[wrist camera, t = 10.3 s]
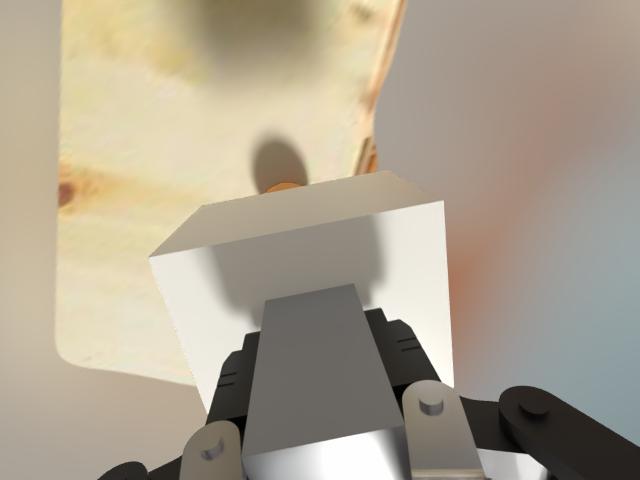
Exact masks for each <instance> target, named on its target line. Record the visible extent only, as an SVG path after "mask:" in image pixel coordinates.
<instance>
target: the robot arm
mask: <svg viewBox="0 0 640 480" xmlns="http://www.w3.org/2000/svg"><path fill="white" fill-rule="evenodd" d="M364 313H365V316H366V319H367V321H368V324H369V327H370V330H371V332H372V335H373V338H374V341H375V343H376V346H377V349H378V352H379V354H380V357H381V360H382V363H383V365H384V368H385V371H386V374H387V376H388V379H389V382H390V385H391V387H392V390H393V393H394V396H395V398H396V401H397V404H398V407H399V409H400V412H401V415H402V417H403V420H404V423H405V427H406V435H407V443H408V451H409V459H410V467H411V475H412V480H640V447H638V446H637V445H635V444H633V443H632V442H630V441H628V440H627V439H625V438H624V437H622V436H620V435H619V434H617V433H615V432H613V431H612V430H610V429H609V428H607V427H605V426H604V425H602V424H600V423H599V422H597V421H595V420H594V419H592V418H591V417H589V416H587V415H585V414H584V413H582V412H581V411H579V410H577V409H576V408H574V407H572V406H571V405H569V404H567V403H566V402H564V401H562V400H561V399H559V398H557V397H556V396H554V395H552V394H551V393H549V392H547V391H544V390H542V389H539V388H536V387H531V386H515V387H511V388H508V389H507V390H505V391H504V392H503V393H502V394H501V395H500V398H499V402H493V401H479V400H471V399H467V398H464V397H461V396H459V395H458V394H457V393H456V392H455V390H454V389H452V388H451V387H450V386H448V385H446V384H444V383H442V381H441V379H440V378H439V376H438V374H437V372H436V370H435V369H434V367H433V365H432V363H431V362H430V360H429V358H428V356H427V354H426V353H425V351H424V349H423V348H422V346H421V344H420V342H419V340H418V339H417V337H416V335H415V333H414V331H413V330H412V328H411V326H409V325H408V324H406V323H405V322H403V321H402V320H401V319H397V320H392V321H387V319H386V317H385V314H384V312H383V310H382V308H381V307H380V308H375V309H370V310H365V311H364ZM260 332H261V331H257V332H252V333H247V334H245V337H244V342H243V346H242V350H238V351H233V352H231V354H230V355H229V356H228V358H227V359H226V360H225V361H224V363H223V365H222V368H221V372H220V375H219V376H220V378H219V379H218V382H217V388H216V389H215V393H214V396H213V400H212V403H211V407H210V410H209V414H208V418H207V421H206V424H205V426H204V427H202V428H201V429H199V430H198V431H197V432H196V433H195V434H194V435H193V436H192V437H191V438H190V439H189V441H188V442H187V444H186V446H185V448H184V451H183V454H182V456H180V457H179V458H177V459H175V460H173V461H171V462H169V463H167V464H165V465H163V466H161V467H159V468H157V469H155V470H153V471H151V472H148V471H147V469H146V468H145V466H144V465H143V464H142V463H140V462H135V461H134V462H126V463H123V464H121V465H118V466H116V467H114V468H112V469H111V470H109V471H108V472H106V473H105V474H103V476H101V477H100V478H99V479H98V480H249V478H248V476H247V473H246V470H245V467H244V465H243V462H242V459H241V455H242V448H243V442H244V435H245V429H246V422H247V416H248V409H249V403H250V396H251V390H252V383H253V377H254V370H255V364H256V358H257V351H258V345H259V338H260Z"/></svg>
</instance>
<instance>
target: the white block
mask: <svg viewBox="0 0 640 480" xmlns="http://www.w3.org/2000/svg"><path fill="white" fill-rule="evenodd" d="M148 261H149V263H150V266H151V268H152V271H153V274H154V276H155V279H156V281H157V284H158V287H159V289H160V292H161V294H162V297H163V300H164V302H165V305H166V307H167V310H168V313H169V315H170V318H171V320H172V323H173V326H174V328H175V331H176V333H177V336H178V339H179V341H180V344H181V346H182V349H183V352H184V354H185V357H186V360H187V362H188V365H189V367H190V370H191V373H192V375H193V378H194V380H195V383H196V386H197V388H198V391H199V393H200V396H201V398H202V401H203V404H204V406H205V409H206V412H207V414H209V410H210V407H211V403H212V400H213V396H214V393H215V389H216V388H217V382H218V379H219V378H220V376H219V375H220V372H221V368H222V365H223V363H224V361H225V360H226V359H227V358H228V356H229V355H230V354H231V352H233V351H238V350H242V346H243V342H244V337H245V334H247V333H252V332H257V331H261V332H260V338H259V345H258V351H257V358H256V364H255V370H254V377H253V383H252V390H251V396H250V403H249V409H248V416H247V422H246V429H245V435H244V442H243V448H242V455H241V459H242V462H243V465H244V467H245V470H246V473H247V476H248V478H249V480H412V475H411V467H410V459H409V451H408V443H407V435H406V427H405V423H404V420H403V417H402V415H401V412H400V409H399V407H398V404H397V401H396V398H395V396H394V393H393V390H392V387H391V385H390V382H389V379H388V376H387V374H386V371H385V368H384V365H383V363H382V360H381V357H380V354H379V352H378V349H377V346H376V343H375V341H374V338H373V335H372V332H371V330H370V327H369V324H368V321H367V319H366V316H365V313H364V311H365V310H370V309H375V308H380V307H381V308H382V310H383V312H384V314H385V317H386V319H387V321H392V320H397V319H401V320H402V321H403V322H405V323H406V324H408V325H409V326H411V328H412V330H413V331H414V333H415V335H416V337H417V339H418V340H419V342H420V344H421V346H422V348H423V349H424V351H425V353H426V354H427V356H428V358H429V360H430V362H431V363H432V365H433V367H434V369H435V370H436V372H437V374H438V376H439V378H440V379H441V381H442V383H444V384H446V385H448V386H450V387H451V388H452V387H454V380H453V379H454V378H453V361H452V344H451V325H450V307H449V289H448V271H447V254H446V236H445V218H444V201H443V200H442V199H440V198H438V197H436V196H435V195H433V194H431V193H429V192H427V191H426V190H424V189H422V188H420V187H418V186H416V185H414V184H413V183H411V182H409V181H407V180H405V179H404V178H402V177H400V176H398V175H396V174H394V173H393V172H391V171H389V170H385V171H379V172H374V173H369V174H363V175H358V176H353V177H348V178H343V179H337V180H332V181H327V182H322V183H317V184H312V185H306V186H301V187H296V188H291V189H286V190H280V191H275V192H270V193H265V194H260V195H255V196H249V197H244V198H239V199H234V200H229V201H223V202H218V203H213V204H208V205H203V206H201V207H200V208H199V209H198V210H197V211H196V212H195V213H194V214H193V215H192V216H191V217H190V218H189V219H187V220H186V221H185V222H184V223H183V224H182V225H181V226H180V227H179V228H178V229H177V230H176V231H175V232H174V233H173V234H172V235H171V236H170V237H169V238H168V239H167V240H166V241H164V242H163V243H162V244H161V245H160V246H159V247H158V248H157V249H156V250H155V251H154V252H153V253H152V254H151V255H150V256H149V257H148Z"/></svg>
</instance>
